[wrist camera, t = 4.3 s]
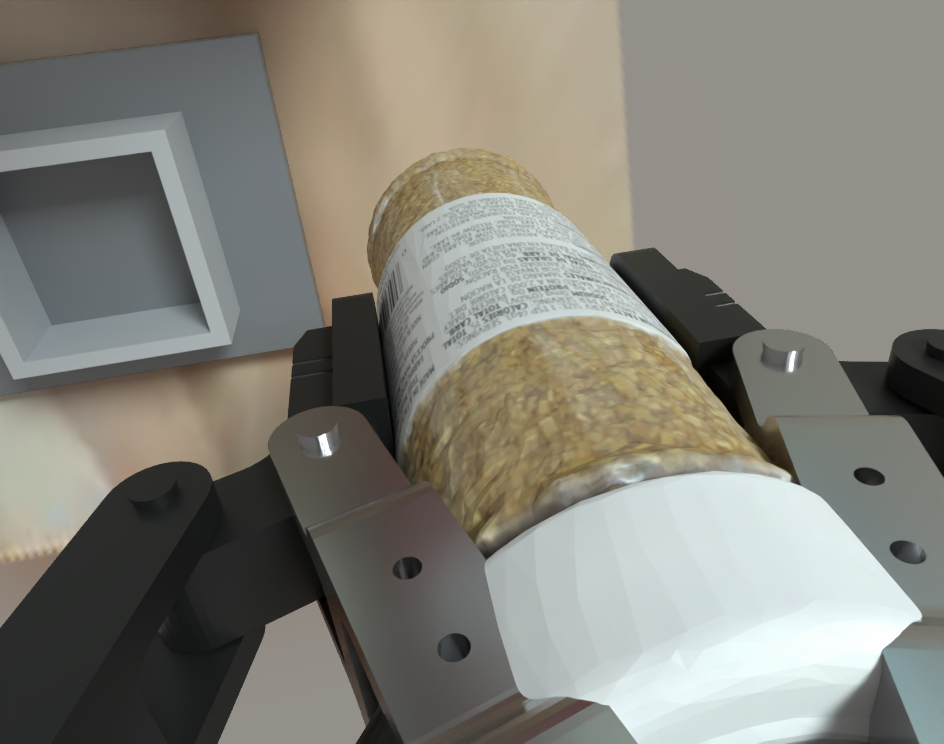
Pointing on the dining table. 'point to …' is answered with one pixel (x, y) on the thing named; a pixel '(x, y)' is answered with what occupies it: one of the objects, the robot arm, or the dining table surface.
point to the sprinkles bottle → (612, 480)
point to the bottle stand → (145, 214)
